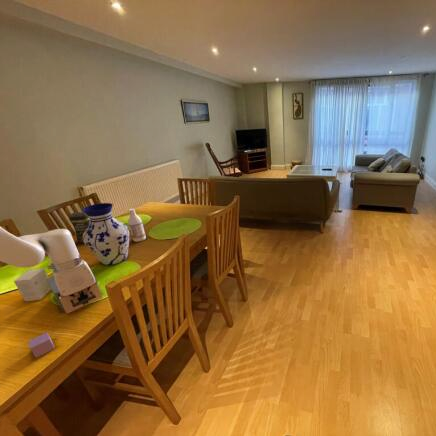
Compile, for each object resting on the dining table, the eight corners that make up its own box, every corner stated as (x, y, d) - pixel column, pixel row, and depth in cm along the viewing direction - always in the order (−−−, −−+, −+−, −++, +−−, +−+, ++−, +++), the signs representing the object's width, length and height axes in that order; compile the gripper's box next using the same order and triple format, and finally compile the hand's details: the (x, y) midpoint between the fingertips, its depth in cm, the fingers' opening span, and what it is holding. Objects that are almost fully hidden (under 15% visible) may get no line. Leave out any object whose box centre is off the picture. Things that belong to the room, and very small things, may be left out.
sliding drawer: (106, 302, 96) (100, 287, 94) (69, 319, 88) (62, 304, 85) (92, 284, 107) (86, 271, 104) (58, 298, 99) (51, 284, 96)
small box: (39, 289, 105) (29, 269, 101) (54, 287, 106) (44, 268, 102) (24, 302, 98) (12, 281, 94) (40, 300, 99) (29, 279, 95)
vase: (107, 273, 116) (86, 216, 104) (84, 264, 123) (63, 210, 112) (143, 255, 132) (129, 203, 120) (122, 248, 139) (106, 199, 128)
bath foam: (132, 238, 150) (124, 209, 142) (145, 235, 154) (137, 206, 146) (134, 243, 145) (125, 212, 137) (147, 239, 148) (139, 209, 141)
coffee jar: (76, 244, 144) (64, 215, 136) (83, 238, 151) (72, 210, 144) (94, 242, 146) (84, 214, 139) (100, 236, 153) (91, 209, 146)
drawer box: (101, 294, 102) (95, 277, 98) (63, 312, 93) (54, 293, 89) (91, 281, 110) (84, 265, 107) (54, 296, 101) (46, 278, 98)
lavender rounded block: (36, 358, 75) (30, 348, 73) (33, 350, 77) (28, 341, 76) (55, 348, 78) (49, 339, 76) (52, 341, 81) (46, 332, 79)
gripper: (41, 276, 78) (62, 318, 85) (96, 257, 89) (110, 296, 96) (36, 268, 83) (57, 309, 90) (89, 250, 93) (104, 288, 101)
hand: (85, 302), depth 93 cm, fingers closed
